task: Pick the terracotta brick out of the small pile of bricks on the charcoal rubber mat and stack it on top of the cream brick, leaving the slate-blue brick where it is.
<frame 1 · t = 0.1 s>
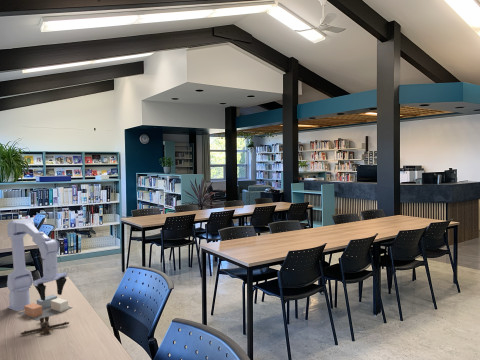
hand: (51, 297, 163), 10 cm above the table, tool pointing down, fingers open, 7 cm apart
charcoal mat: (45, 311, 173), on the table
slate brick: (47, 305, 178), resting on charcoal mat
terracotta brick: (33, 314, 168), resting on charcoal mat
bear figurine: (45, 329, 154), on the table
cream brick: (59, 308, 174), resting on charcoal mat
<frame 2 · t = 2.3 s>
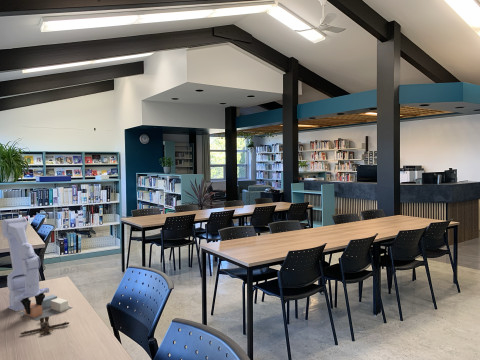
hand: (33, 312, 168), 1 cm above the table, tool pointing down, fingers closed on terracotta brick, 4 cm apart
terracotta brick: (33, 314, 168), resting on charcoal mat, touching gripper
everything else where it was.
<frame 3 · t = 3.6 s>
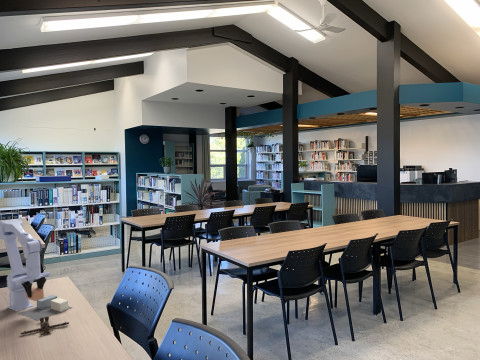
hand: (34, 295, 168), 9 cm above the table, tool pointing down, fingers closed on terracotta brick, 4 cm apart
terracotta brick: (34, 298, 168), point 8 cm above the table, touching gripper
everything else where it was.
when the fingers open (6 cm above the table, at t = 5.3 s): terracotta brick drops 1 cm, resting on cream brick.
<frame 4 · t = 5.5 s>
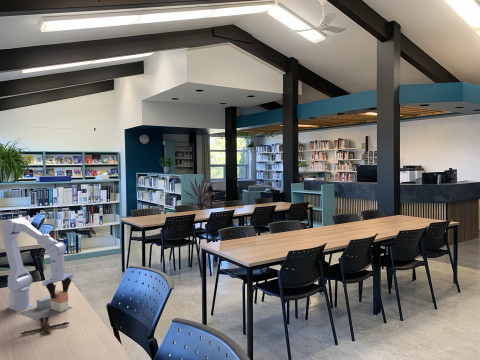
hand: (59, 296, 174), 6 cm above the table, tool pointing down, fingers open, 5 cm apart
terracotta brick: (59, 300, 174), point 4 cm above the table, touching cream brick
cream brick: (59, 308, 174), resting on charcoal mat, touching terracotta brick
everything else where it was.
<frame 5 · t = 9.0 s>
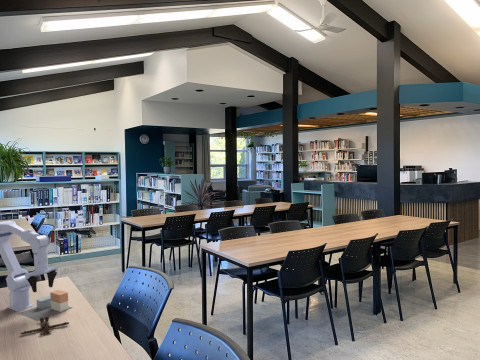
hand: (42, 289, 172), 10 cm above the table, tool pointing down, fingers open, 7 cm apart
nothing on the table moved.
at the end: terracotta brick 0.1 cm off-centre on the cream brick, point 4.0 cm above the cream brick's base; cream brick moved 0.0 cm from its start; slate brick moved 0.0 cm from its start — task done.
